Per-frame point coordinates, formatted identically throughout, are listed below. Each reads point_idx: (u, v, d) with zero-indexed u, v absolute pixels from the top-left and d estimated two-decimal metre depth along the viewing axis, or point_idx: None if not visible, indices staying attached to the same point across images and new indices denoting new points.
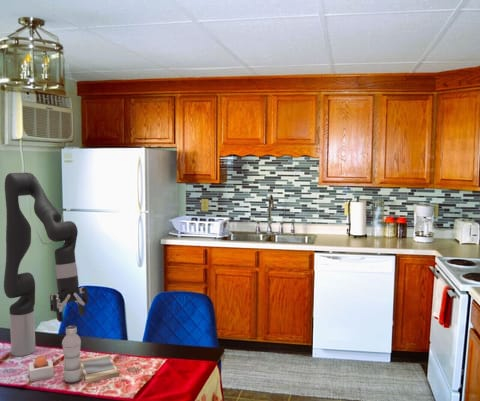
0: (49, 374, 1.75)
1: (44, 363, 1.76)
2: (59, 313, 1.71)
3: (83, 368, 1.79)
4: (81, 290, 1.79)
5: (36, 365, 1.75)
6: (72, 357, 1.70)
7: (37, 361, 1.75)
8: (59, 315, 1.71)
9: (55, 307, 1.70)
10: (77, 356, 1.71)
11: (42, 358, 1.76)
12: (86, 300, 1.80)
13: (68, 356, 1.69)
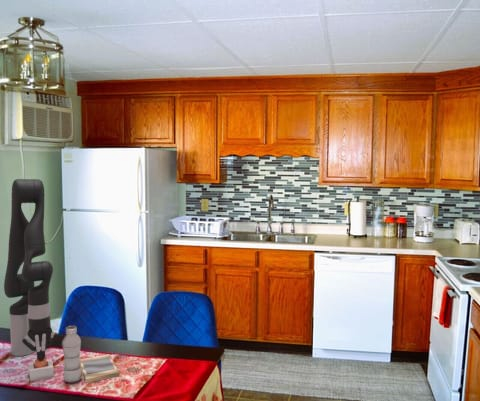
0: (49, 374, 1.75)
1: (44, 365, 1.76)
2: (37, 352, 1.75)
3: (83, 368, 1.79)
4: (52, 334, 1.77)
5: (36, 367, 1.75)
6: (72, 357, 1.70)
7: (37, 363, 1.75)
8: (37, 354, 1.75)
9: (31, 348, 1.74)
10: (77, 356, 1.71)
11: None
12: (47, 346, 1.76)
13: (68, 356, 1.69)
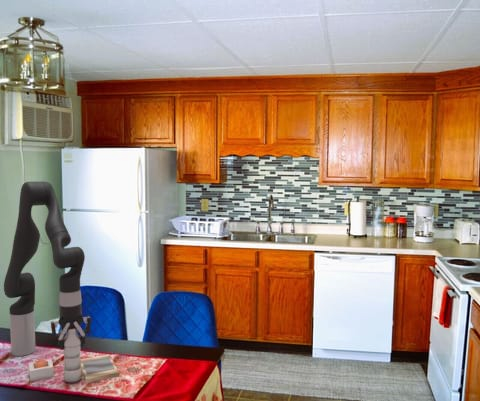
0: (49, 374, 1.75)
1: None
2: (59, 341, 1.69)
3: (83, 368, 1.79)
4: (85, 320, 1.73)
5: None
6: (72, 357, 1.70)
7: (37, 365, 1.75)
8: (59, 343, 1.69)
9: (54, 335, 1.67)
10: (77, 356, 1.71)
11: (42, 362, 1.77)
12: (87, 331, 1.73)
13: (68, 356, 1.69)
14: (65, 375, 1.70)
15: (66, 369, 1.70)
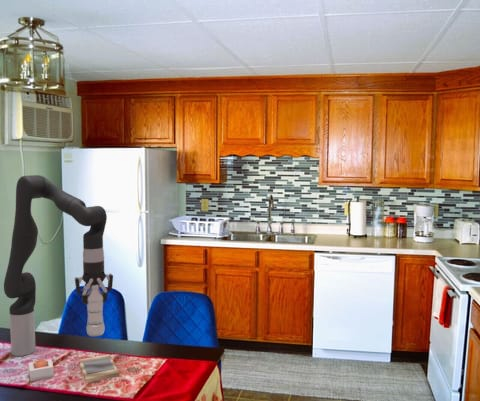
0: (49, 374, 1.75)
1: None
2: (83, 296, 1.76)
3: (83, 368, 1.79)
4: (107, 276, 1.79)
5: None
6: (95, 312, 1.77)
7: (37, 365, 1.75)
8: (83, 298, 1.76)
9: (78, 290, 1.74)
10: (100, 311, 1.78)
11: (42, 362, 1.77)
12: (109, 288, 1.79)
13: (91, 311, 1.76)
14: (88, 329, 1.77)
15: (89, 323, 1.77)
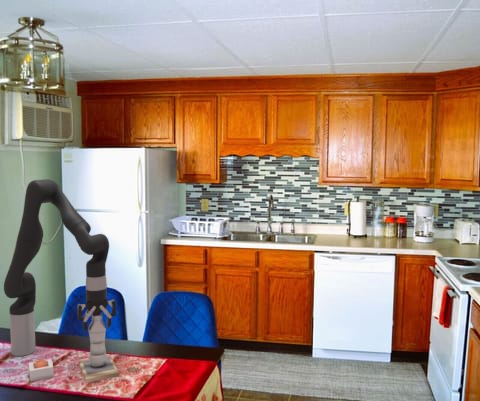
0: (49, 374, 1.75)
1: None
2: (84, 323, 1.77)
3: (83, 368, 1.79)
4: (110, 303, 1.81)
5: None
6: (98, 343, 1.79)
7: (37, 365, 1.75)
8: (84, 324, 1.77)
9: (79, 317, 1.76)
10: (102, 342, 1.80)
11: (42, 362, 1.77)
12: (113, 313, 1.81)
13: (94, 341, 1.78)
14: (91, 360, 1.79)
15: (92, 354, 1.79)
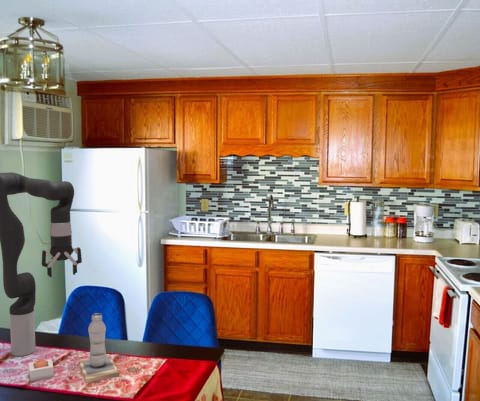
0: (49, 374, 1.75)
1: None
2: (48, 268, 1.78)
3: (83, 368, 1.79)
4: (75, 250, 1.82)
5: None
6: (98, 343, 1.78)
7: (37, 365, 1.75)
8: (48, 270, 1.78)
9: (43, 262, 1.77)
10: (102, 342, 1.79)
11: (42, 362, 1.77)
12: (79, 260, 1.83)
13: (94, 342, 1.78)
14: (91, 360, 1.79)
15: (92, 354, 1.79)
